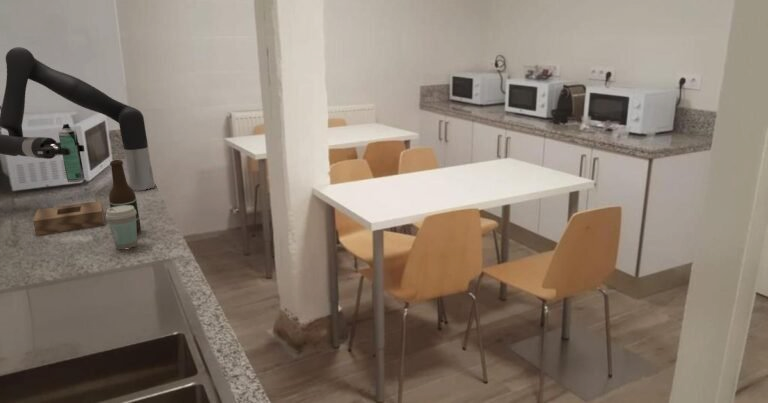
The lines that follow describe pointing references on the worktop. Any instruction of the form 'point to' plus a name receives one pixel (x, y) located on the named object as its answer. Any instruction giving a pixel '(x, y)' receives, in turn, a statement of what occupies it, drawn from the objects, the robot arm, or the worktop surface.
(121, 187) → the beer bottle
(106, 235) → the worktop surface
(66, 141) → the spray can
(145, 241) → the worktop surface
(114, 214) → the coffee cup
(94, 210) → the block
